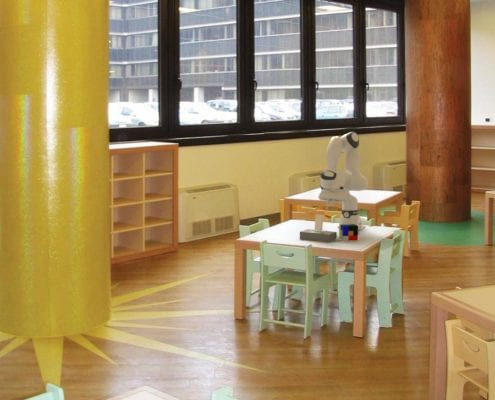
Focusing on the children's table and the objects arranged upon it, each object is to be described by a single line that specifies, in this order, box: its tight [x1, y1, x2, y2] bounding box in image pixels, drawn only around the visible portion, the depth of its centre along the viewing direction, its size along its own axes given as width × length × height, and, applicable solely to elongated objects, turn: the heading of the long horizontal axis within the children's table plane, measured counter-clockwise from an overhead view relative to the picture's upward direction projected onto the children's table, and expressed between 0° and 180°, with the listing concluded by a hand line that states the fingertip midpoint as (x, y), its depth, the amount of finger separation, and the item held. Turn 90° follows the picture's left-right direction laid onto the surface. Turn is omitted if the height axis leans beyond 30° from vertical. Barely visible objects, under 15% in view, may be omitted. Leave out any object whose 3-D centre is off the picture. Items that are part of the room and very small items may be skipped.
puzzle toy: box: [338, 223, 359, 242], centre depth 566 cm, size 10×10×10 cm
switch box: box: [299, 228, 338, 243], centre depth 567 cm, size 12×22×5 cm, turn 59°
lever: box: [314, 210, 325, 231], centre depth 567 cm, size 3×6×13 cm, turn 59°
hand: (329, 205), depth 580 cm, fingers closed
